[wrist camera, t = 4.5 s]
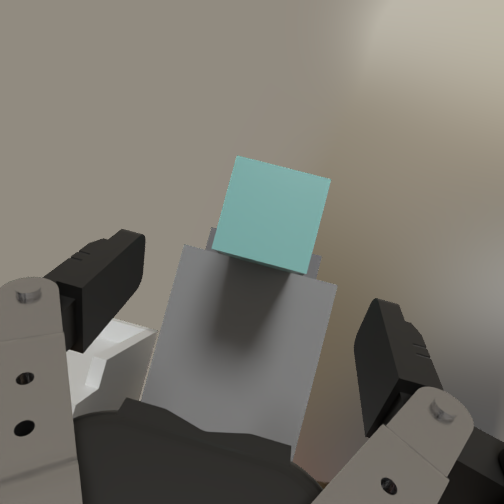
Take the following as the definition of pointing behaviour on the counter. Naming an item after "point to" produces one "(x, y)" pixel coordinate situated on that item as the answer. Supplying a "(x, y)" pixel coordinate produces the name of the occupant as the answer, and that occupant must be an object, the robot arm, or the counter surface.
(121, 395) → the white open box
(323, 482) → the counter surface
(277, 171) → the teal square bar
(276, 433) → the tall grey pillar
